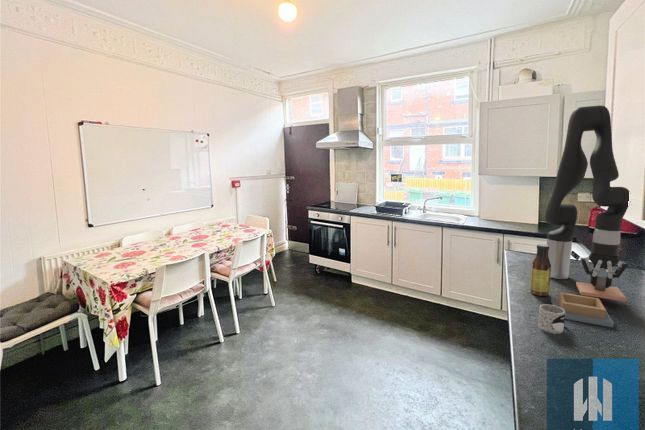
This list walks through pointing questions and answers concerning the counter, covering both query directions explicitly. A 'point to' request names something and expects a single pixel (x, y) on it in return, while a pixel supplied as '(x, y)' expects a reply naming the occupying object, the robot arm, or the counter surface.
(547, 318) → the mug
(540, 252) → the sauce bottle
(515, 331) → the counter surface
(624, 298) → the lid
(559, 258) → the robot arm
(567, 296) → the socket stand
